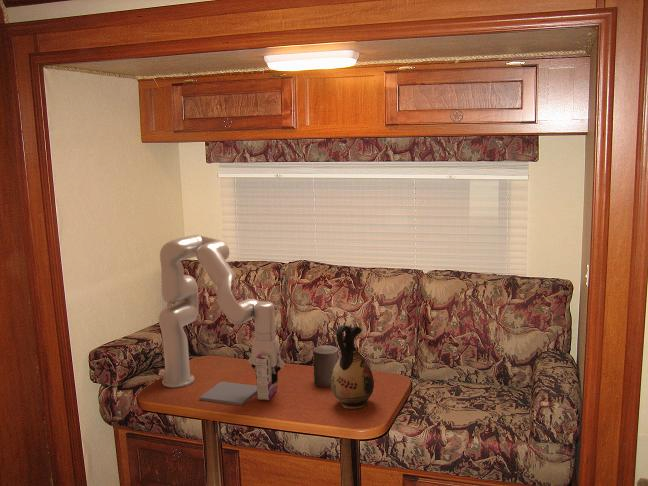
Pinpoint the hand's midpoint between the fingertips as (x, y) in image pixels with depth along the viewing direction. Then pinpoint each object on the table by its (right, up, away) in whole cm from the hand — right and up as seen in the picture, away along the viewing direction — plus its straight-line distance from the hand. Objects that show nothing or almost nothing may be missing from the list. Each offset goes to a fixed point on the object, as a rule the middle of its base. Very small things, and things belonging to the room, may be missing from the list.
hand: (267, 381), depth 229 cm
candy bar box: (0, -5, +1) cm, 5 cm away
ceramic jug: (+31, -7, -9) cm, 33 cm away
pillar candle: (+22, -4, +13) cm, 26 cm away
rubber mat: (-14, -6, +4) cm, 16 cm away
